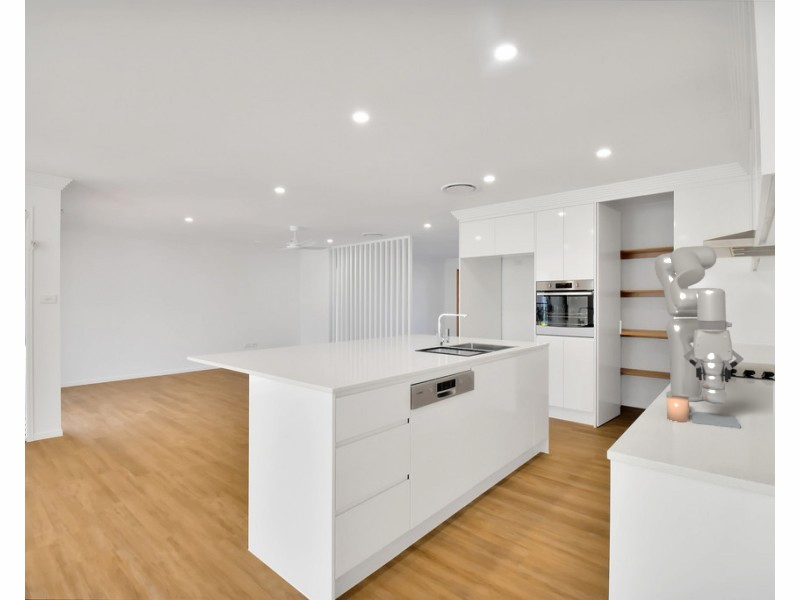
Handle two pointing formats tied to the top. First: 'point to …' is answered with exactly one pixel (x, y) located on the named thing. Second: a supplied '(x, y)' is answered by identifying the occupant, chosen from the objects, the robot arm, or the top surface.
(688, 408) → the copper block
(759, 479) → the top surface
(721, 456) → the top surface
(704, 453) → the top surface
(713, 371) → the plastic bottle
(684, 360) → the robot arm
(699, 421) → the slate mat
